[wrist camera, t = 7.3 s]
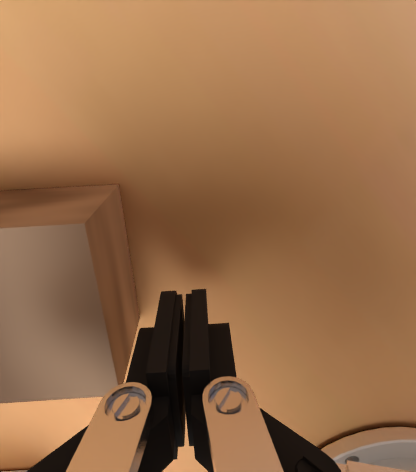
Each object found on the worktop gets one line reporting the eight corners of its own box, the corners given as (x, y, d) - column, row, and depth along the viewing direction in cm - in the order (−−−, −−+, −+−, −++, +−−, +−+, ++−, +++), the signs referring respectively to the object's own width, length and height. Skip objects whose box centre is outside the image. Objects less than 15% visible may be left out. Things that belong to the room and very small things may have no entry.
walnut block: (119, 182, 14) (84, 223, 10) (140, 315, 17) (120, 395, 12) (-89, 194, 14) (-225, 240, 10) (-35, 325, 17) (-121, 411, 12)
